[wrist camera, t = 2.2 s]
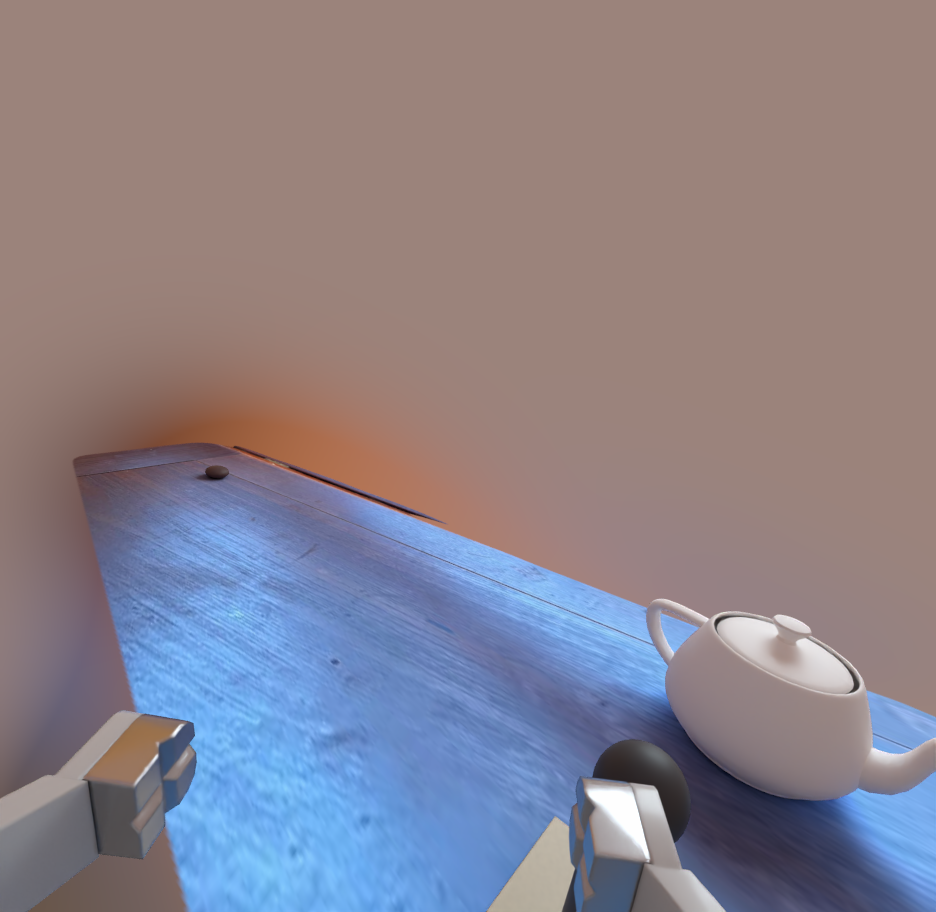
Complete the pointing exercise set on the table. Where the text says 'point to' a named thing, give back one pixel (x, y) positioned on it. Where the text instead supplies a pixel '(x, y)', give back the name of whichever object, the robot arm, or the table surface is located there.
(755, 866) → the table surface
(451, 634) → the table surface
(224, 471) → the chocolate truffle
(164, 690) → the table surface
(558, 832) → the joystick
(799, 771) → the teapot
